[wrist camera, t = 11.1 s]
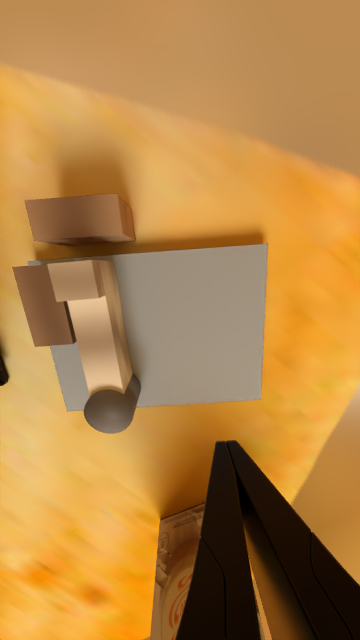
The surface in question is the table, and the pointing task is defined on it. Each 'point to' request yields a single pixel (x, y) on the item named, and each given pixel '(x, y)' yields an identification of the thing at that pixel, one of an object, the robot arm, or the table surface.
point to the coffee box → (176, 571)
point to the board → (184, 326)
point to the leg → (99, 340)
